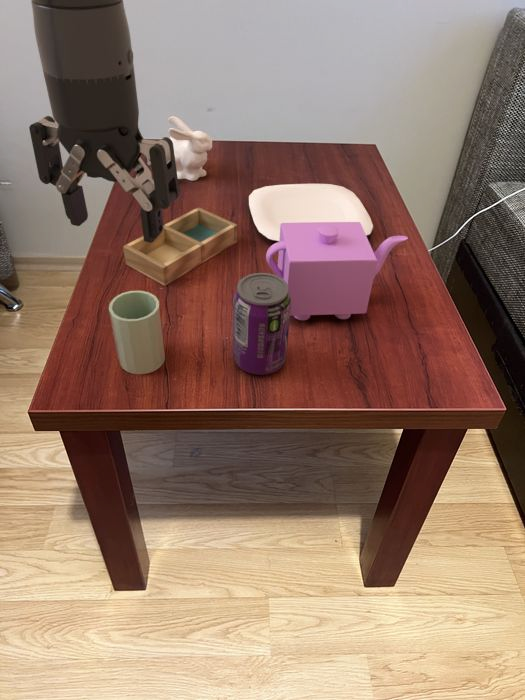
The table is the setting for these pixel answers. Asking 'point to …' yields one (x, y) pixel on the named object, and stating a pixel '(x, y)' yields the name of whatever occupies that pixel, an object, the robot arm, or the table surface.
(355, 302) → the teapot
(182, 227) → the holder
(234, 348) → the beverage can
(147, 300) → the cup
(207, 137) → the rabbit
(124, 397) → the table surface
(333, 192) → the plate
